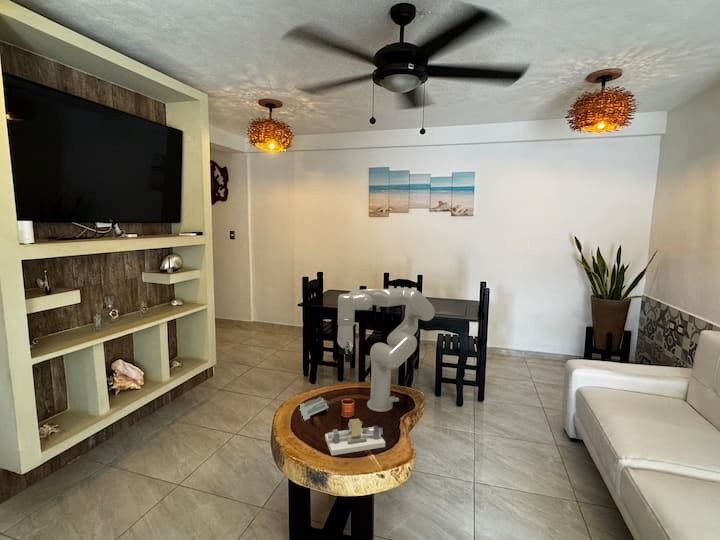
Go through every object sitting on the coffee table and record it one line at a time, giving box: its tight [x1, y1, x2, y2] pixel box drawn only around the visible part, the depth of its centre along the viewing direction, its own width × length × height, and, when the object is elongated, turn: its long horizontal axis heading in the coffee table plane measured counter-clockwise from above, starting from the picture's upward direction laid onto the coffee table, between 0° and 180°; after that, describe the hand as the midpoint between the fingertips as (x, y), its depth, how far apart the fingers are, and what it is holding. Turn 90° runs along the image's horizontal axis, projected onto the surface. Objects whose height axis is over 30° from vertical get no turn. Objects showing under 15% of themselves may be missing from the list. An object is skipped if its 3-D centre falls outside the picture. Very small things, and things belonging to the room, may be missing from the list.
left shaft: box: [361, 425, 384, 439], centre depth 149 cm, size 8×4×4 cm, turn 92°
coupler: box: [347, 418, 363, 440], centre depth 148 cm, size 6×4×7 cm
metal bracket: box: [299, 396, 329, 422], centre depth 173 cm, size 14×6×15 cm
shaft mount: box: [324, 426, 386, 456], centre depth 148 cm, size 22×12×6 cm, turn 107°
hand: (345, 358), depth 166 cm, fingers open, 9 cm apart
